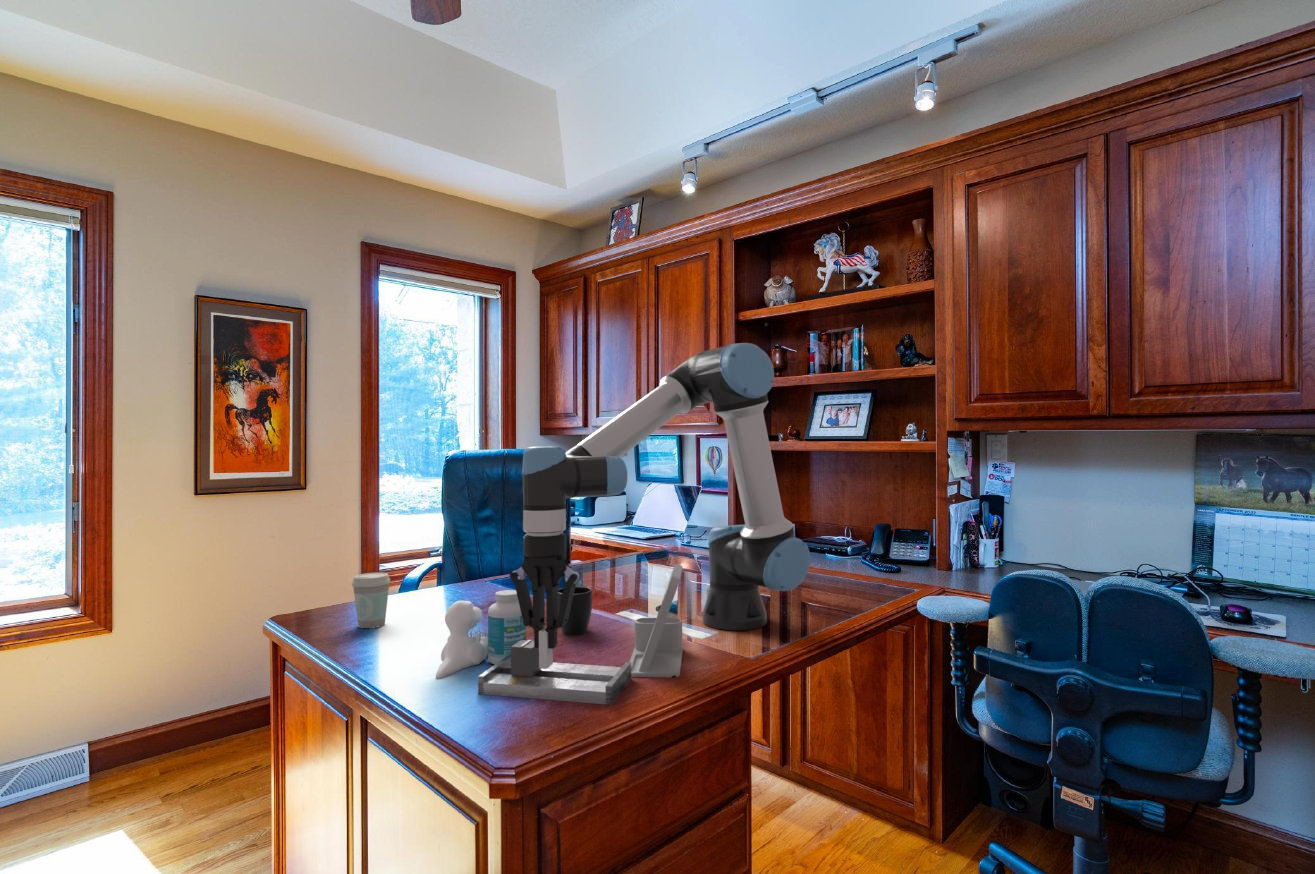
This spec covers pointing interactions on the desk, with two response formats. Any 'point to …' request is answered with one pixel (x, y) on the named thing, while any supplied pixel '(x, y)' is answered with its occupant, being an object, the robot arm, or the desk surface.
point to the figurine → (462, 639)
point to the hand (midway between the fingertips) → (546, 665)
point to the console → (558, 682)
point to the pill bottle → (504, 625)
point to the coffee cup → (371, 598)
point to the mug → (577, 611)
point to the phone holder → (659, 639)
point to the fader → (524, 658)
